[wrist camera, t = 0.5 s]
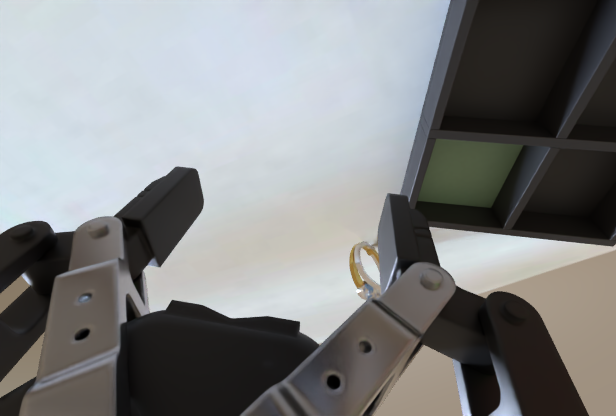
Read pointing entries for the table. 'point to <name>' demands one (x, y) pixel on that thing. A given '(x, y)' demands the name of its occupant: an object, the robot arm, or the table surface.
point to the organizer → (521, 122)
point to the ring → (368, 286)
